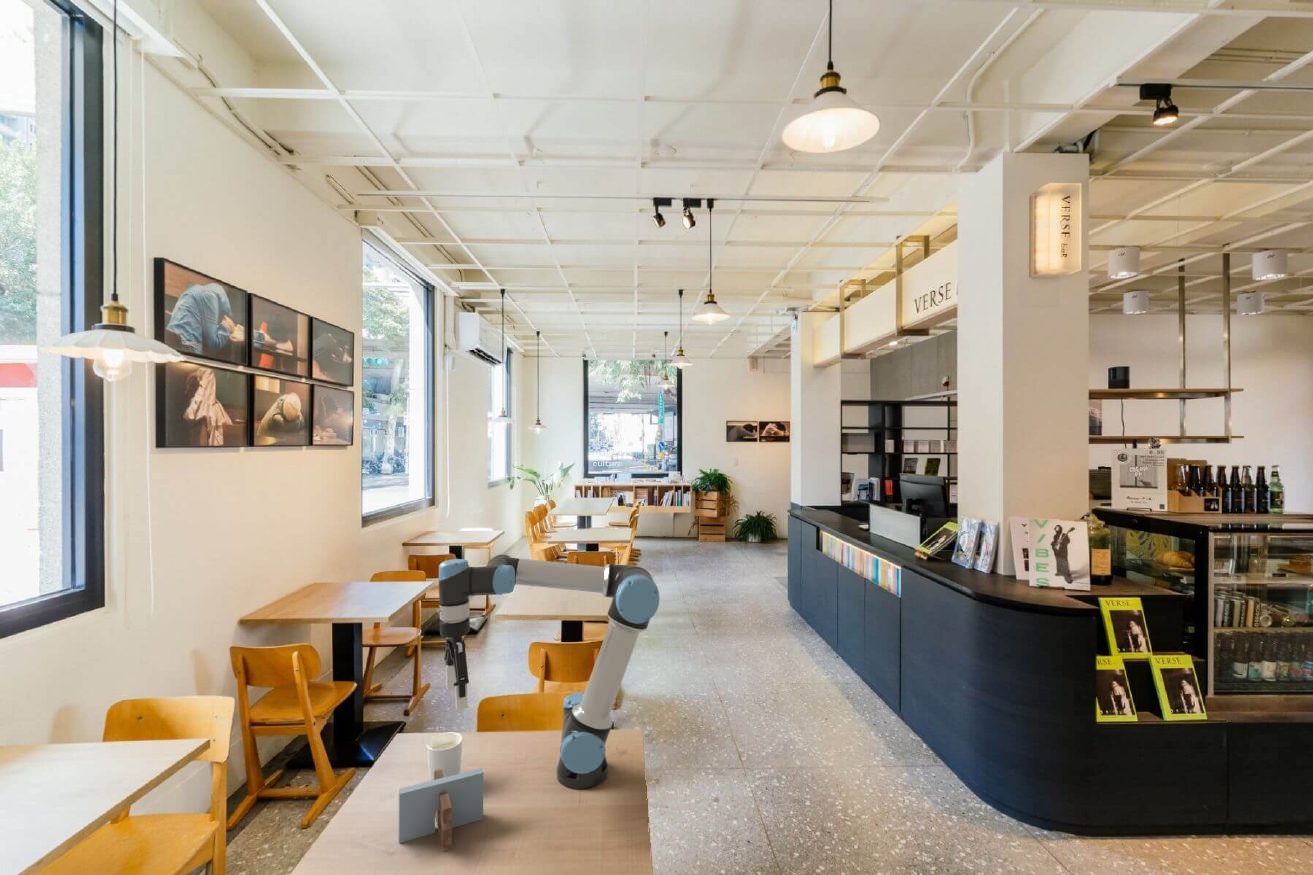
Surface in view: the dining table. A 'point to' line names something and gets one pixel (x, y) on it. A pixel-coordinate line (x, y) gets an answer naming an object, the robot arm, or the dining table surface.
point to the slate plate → (424, 802)
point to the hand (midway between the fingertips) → (456, 698)
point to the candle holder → (444, 754)
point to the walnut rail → (444, 816)
